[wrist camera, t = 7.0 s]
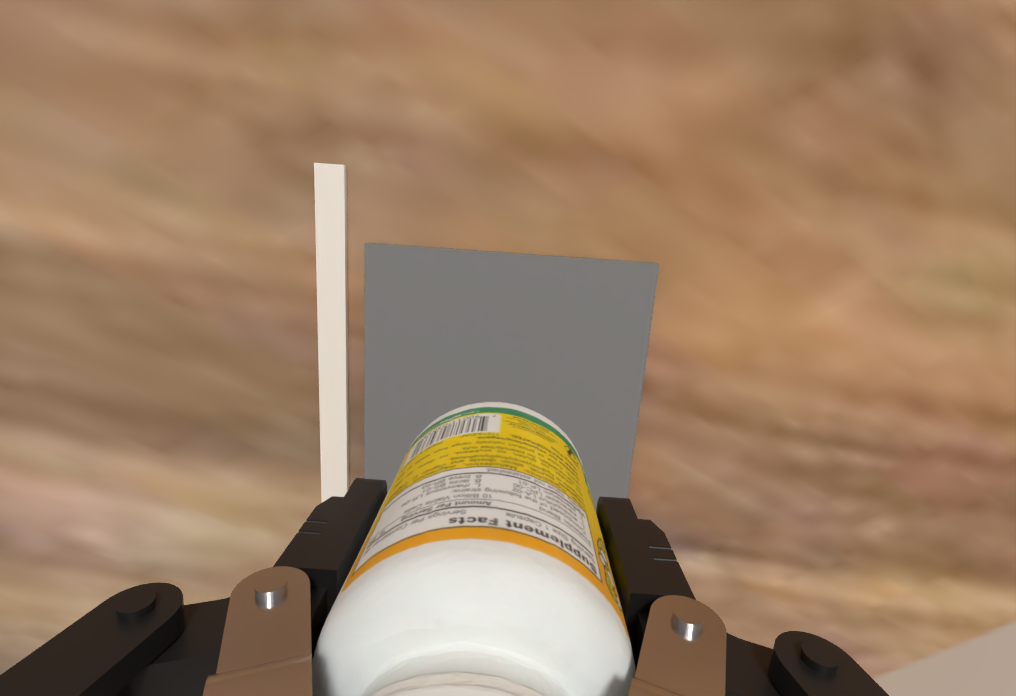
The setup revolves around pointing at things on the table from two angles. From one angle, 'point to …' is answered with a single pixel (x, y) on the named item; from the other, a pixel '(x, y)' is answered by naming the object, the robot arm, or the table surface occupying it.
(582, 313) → the mat
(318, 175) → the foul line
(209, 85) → the table surface
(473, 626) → the supplement bottle
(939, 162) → the table surface
